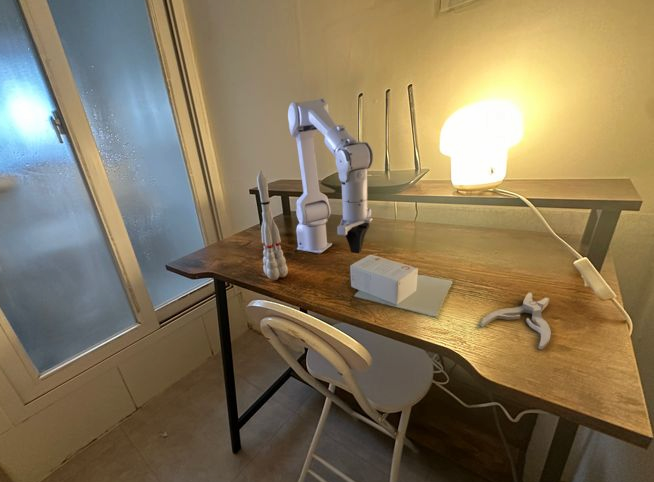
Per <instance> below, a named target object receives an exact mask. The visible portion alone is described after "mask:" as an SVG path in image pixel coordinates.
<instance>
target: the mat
mask: <svg viewBox="0 0 654 482" xmlns="http://www.w3.org/2000/svg"><path fill="white" fill-rule="evenodd" d="M452 285H453V280H450V279H445V278H439V277H434V276H429V275H423V274H418V273H417V286H416V291H415V292H414V293H413V294H411V295H410V296H409V297H407V298H406V299H404V300H403V301H402V302H400V303H399V304H398V305H395V304H393V303H390V302H388V301H385V300H383V299H380V298H378V297H375V296H373V295H370V294H368V293H365V292H363V291H360V290H358V291H357V292H356V293H355V294H354V296H353V297H354V298H358V299H362V300H366V301H369V302H374V303H377V304H380V305H381V304H382V305H386V306H390V307H394V308H396V309H397V308H398V309H402V310H405V311H409V312H413V313H417V314H421V315H424V316H429V317H432V318H437V316H438V313H439V312H440V309H441V307H442V305H443V303H444V301H445V299H446V297H447V295H448V292H449V290H450V288H451V286H452Z"/></svg>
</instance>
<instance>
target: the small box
mask: <svg viewBox="0 0 654 482" xmlns="http://www.w3.org/2000/svg"><path fill="white" fill-rule="evenodd" d="M349 266H350V267H349V269H350V287H351V288H353V289H355V290H358V291H359V290H360V291H363V292H365V293H368V294H370V295H373V296H375V297H378V298H380V299H383V300H385V301H388V302H390V303H393V304H395V305H398V304H399V303H400V302H402V301H403V300H404V299H406V298H407V297H409V296H410V295H411V294H413V293H414V292H415V291H416V286H417V274H418V272H419V268H418V267H415V266H412V265H408V264H405V263H403V262H402V263H401V262H398V261H395V260H391V259H388V258H384V257H381V256H378V255H375V254H368V255H367V256H365V257H363V258H361V259H359V260H357V261H355V262H354V263H352V264H350V265H349Z"/></svg>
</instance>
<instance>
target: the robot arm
mask: <svg viewBox="0 0 654 482" xmlns="http://www.w3.org/2000/svg"><path fill="white" fill-rule="evenodd" d="M287 120H288V127H289V128H288V129H289V132H290V136H292V137H294V138H295V141H296V147H297V153H298V161H299V168H300V175H301V183H302V191H303V192H302V194H301V195H300V197H298V198H297V200H296V203H295V204H296V217H297V220H298V222H299V223H298V224H297V226H296V231H295V233H296V240H297V241H296V242H297V247H296V250H297V251H305V252H308V253H309V252H311V253H315V254H322V253H323V252H324V251H326V250H328V249H329V248H330V247H331V246H332V245H333V243H332V242H328V238H327V237H328V236H327V224H326V223H327V222H328V219H329V218H330V217H331V213H332V209H331V206H330V202H329V198H328V196H327V195H326V194H325V193H324V192H321V191H320V184H319V177H318V176H319V175H318V166H317V160H316V159H317V158H316V151H315V150H316V149H315V140H314V137H315V135H316V134H317V133H319V132H320V133H321V134H322V135H323V136H324V138H323V140H324V145H325V146H326V148H327V149H328V150H329V151H330V153H331V154H332V156H334V158H335V160H334V161H335V166H336V169H337V172H338V180H339V181H340V182H341V203H342V218H341V219H340V223H339V224H338V226H337V228H336V230H337V235H338V236H344V237H345V238H346V242H347V243H348V246H349V250H350V253H352V254H360V253H361V252H362V249H363V244H364V240H365V237H366V234H367V232H368V230H369V228H370V223H371V222H372V221H373V216H372V208H368V170H369V169H370V168H371V167H372V165H373V162H374V161H373V160H374V153H373V150H372V147H371V145H370V144H369V143H368V142H366V141H363V142H362V141H358V140H357V139H356V138H355V137H354V136H353V135H352V134H351V132H349V130H348V129H347V128H346V126H345V125H344V124H336V122H335V121H334V119H333V117H331V114H330V112H329V104H328V102H327V101H326V99H325V98H323V97H322V98H318V99H310V100H304V101H297V102H295V101H292V102H291V103H290V104H289V107H288V111H287Z"/></svg>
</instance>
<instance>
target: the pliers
mask: <svg viewBox="0 0 654 482" xmlns="http://www.w3.org/2000/svg"><path fill="white" fill-rule="evenodd" d="M549 302H550V298H549V297H544V298H542V299H540V300H538V301H534V300H533V292H527V294H526V295H525V297H524V299H523V302H522V305H519V306H517V307H509V308H507V307H506V308H500V309H496V310H493V311H492V312H490V313H488V314H486V315H485V316H484V317H483V318H482V320H481V322H480V325H479V326H480V327H482V328H484V327H486V325H488V324H489V323H491V322H493V321H495V320H497V319H498V320H507V321H512V320H519V319H521V314H523V313H525V314H531V319H530V318H529V317H526V319H525V322H526V324H527V325H528V326H529V327H530V328H531V329H533V330H534V331H535V332H538V334H540V340H539V344H538V347H537V349H539V350H541V351H542V350H543V349H544V348H546V346H548V344H549V342H550V339H551V336H552V332H551V327H550V325H549V324H548V322H547V321H546V320H545V319H544V318H543V315H542V312H543V311H544V310H545V308H546V307H547V306H548V305H549Z"/></svg>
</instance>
